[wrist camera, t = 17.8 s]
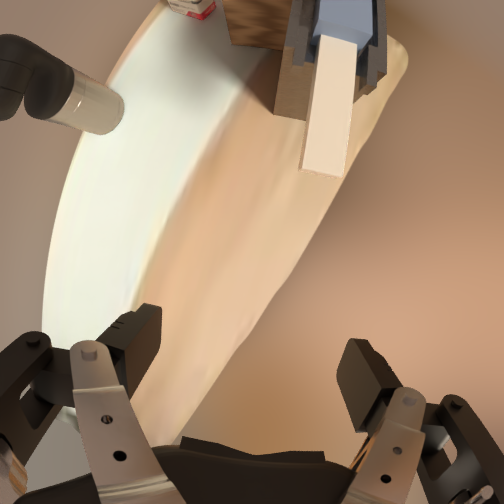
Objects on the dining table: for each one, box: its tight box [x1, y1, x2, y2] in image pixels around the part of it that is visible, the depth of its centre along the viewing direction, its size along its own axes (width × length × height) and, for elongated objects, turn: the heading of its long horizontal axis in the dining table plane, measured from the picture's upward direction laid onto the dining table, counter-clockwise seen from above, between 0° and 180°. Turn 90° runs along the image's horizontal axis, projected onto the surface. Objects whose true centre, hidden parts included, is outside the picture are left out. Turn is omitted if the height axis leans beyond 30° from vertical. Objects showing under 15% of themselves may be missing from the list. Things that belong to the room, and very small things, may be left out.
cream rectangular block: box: [298, 0, 373, 179], centre depth 19 cm, size 5×22×6 cm, turn 170°
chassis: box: [273, 0, 387, 121], centre depth 30 cm, size 10×15×25 cm, turn 170°
